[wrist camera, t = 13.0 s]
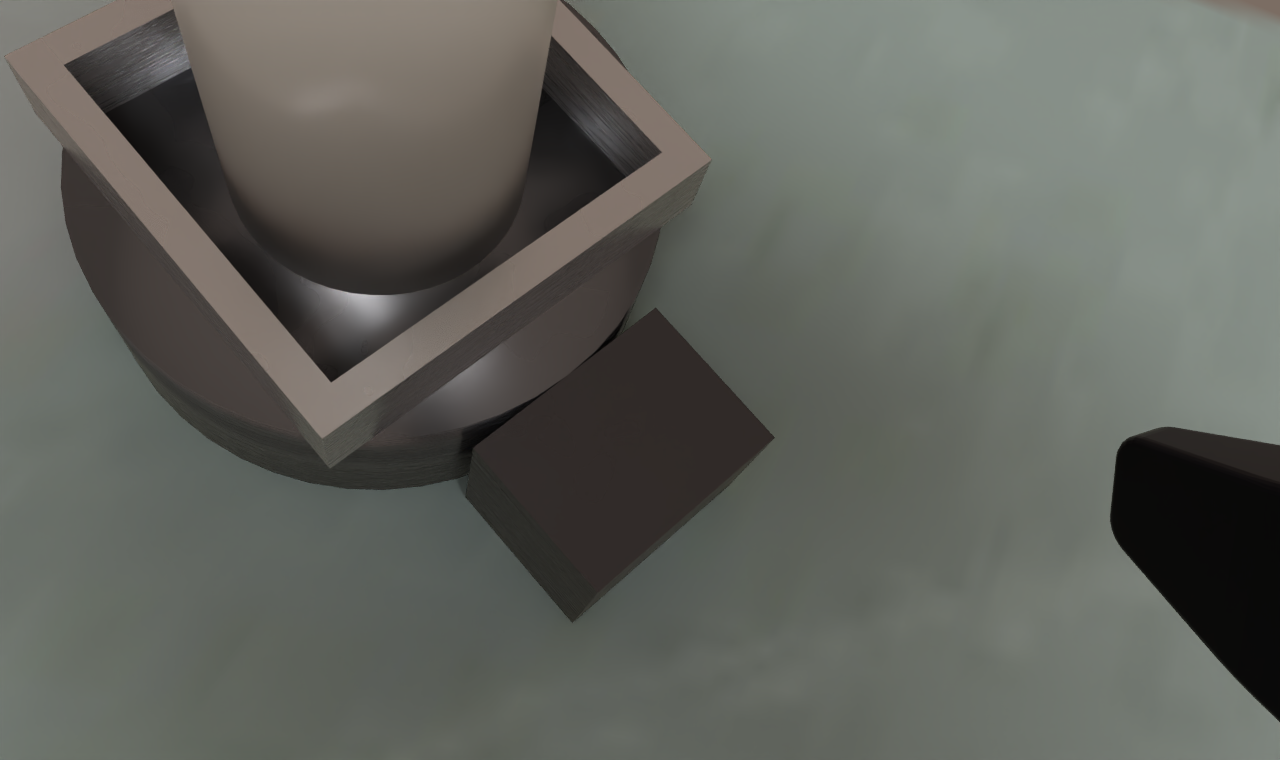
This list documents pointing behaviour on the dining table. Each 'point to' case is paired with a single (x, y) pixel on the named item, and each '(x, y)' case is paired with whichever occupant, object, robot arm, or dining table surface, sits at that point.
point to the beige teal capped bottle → (372, 128)
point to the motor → (412, 309)
